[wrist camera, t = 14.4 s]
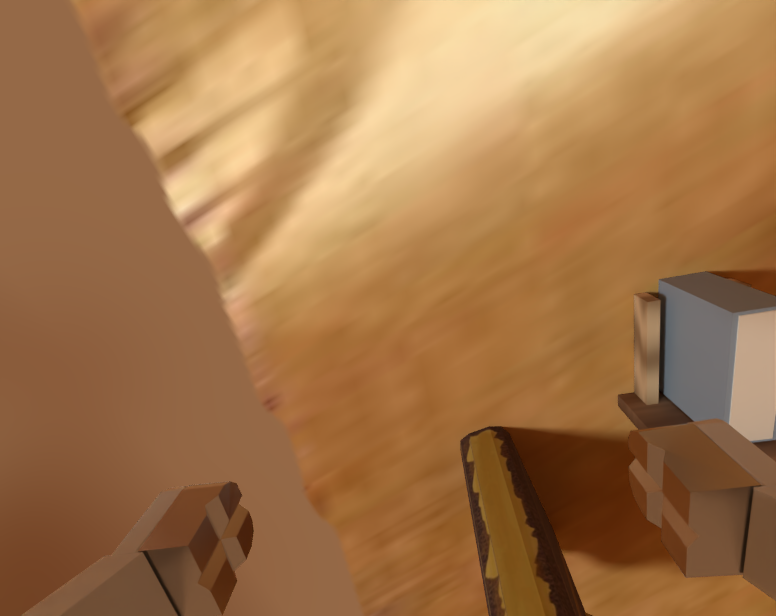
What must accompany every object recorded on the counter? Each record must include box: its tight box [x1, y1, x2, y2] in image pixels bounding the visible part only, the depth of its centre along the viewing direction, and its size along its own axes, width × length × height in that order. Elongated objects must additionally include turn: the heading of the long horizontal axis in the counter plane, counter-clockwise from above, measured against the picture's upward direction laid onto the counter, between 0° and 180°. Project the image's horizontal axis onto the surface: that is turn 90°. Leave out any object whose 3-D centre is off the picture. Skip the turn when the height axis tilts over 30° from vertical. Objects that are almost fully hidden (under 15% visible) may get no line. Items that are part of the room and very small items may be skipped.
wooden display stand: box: [618, 278, 776, 462], centre depth 36 cm, size 14×13×14 cm
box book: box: [659, 271, 776, 443], centre depth 38 cm, size 13×4×10 cm, turn 12°
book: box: [461, 427, 592, 616], centre depth 39 cm, size 22×8×25 cm, turn 26°
